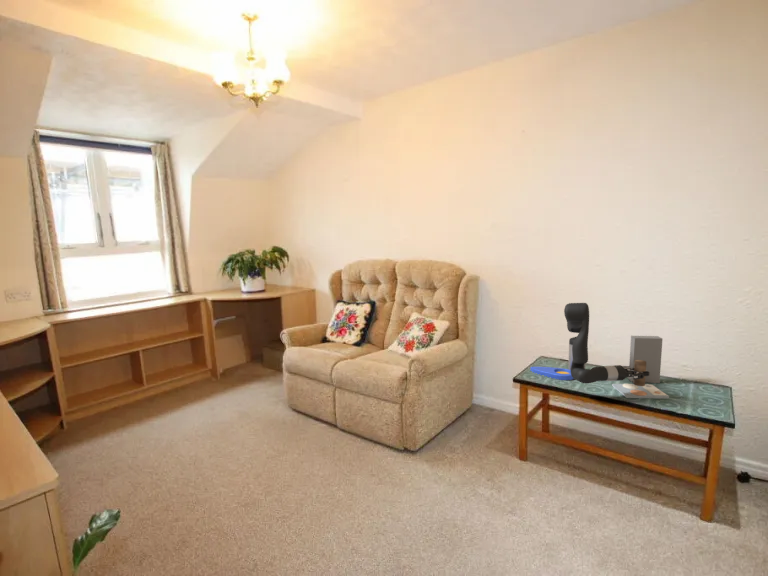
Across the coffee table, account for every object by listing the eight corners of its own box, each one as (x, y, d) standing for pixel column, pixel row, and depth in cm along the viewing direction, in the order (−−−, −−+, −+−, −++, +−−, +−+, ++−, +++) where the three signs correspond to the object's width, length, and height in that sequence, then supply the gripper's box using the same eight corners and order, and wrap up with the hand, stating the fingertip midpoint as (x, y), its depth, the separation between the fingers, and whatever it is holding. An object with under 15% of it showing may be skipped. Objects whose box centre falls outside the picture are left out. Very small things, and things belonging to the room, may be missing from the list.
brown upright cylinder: (631, 382, 212) (632, 359, 210) (641, 382, 211) (643, 359, 209) (636, 386, 207) (637, 362, 205) (646, 386, 206) (648, 363, 204)
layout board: (612, 385, 223) (612, 383, 222) (651, 386, 221) (651, 383, 220) (626, 397, 207) (626, 394, 207) (668, 398, 205) (669, 395, 205)
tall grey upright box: (654, 379, 230) (657, 335, 227) (659, 383, 224) (662, 338, 221) (627, 378, 233) (630, 335, 229) (632, 382, 227) (634, 338, 223)
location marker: (526, 374, 245) (572, 382, 229) (526, 369, 244) (572, 376, 229) (534, 368, 255) (577, 375, 240) (534, 363, 255) (577, 369, 239)
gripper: (622, 370, 199) (655, 369, 201) (604, 361, 213) (635, 360, 215) (621, 385, 200) (654, 384, 202) (603, 375, 214) (634, 374, 216)
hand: (644, 371), depth 208 cm, fingers closed on brown upright cylinder, 5 cm apart
